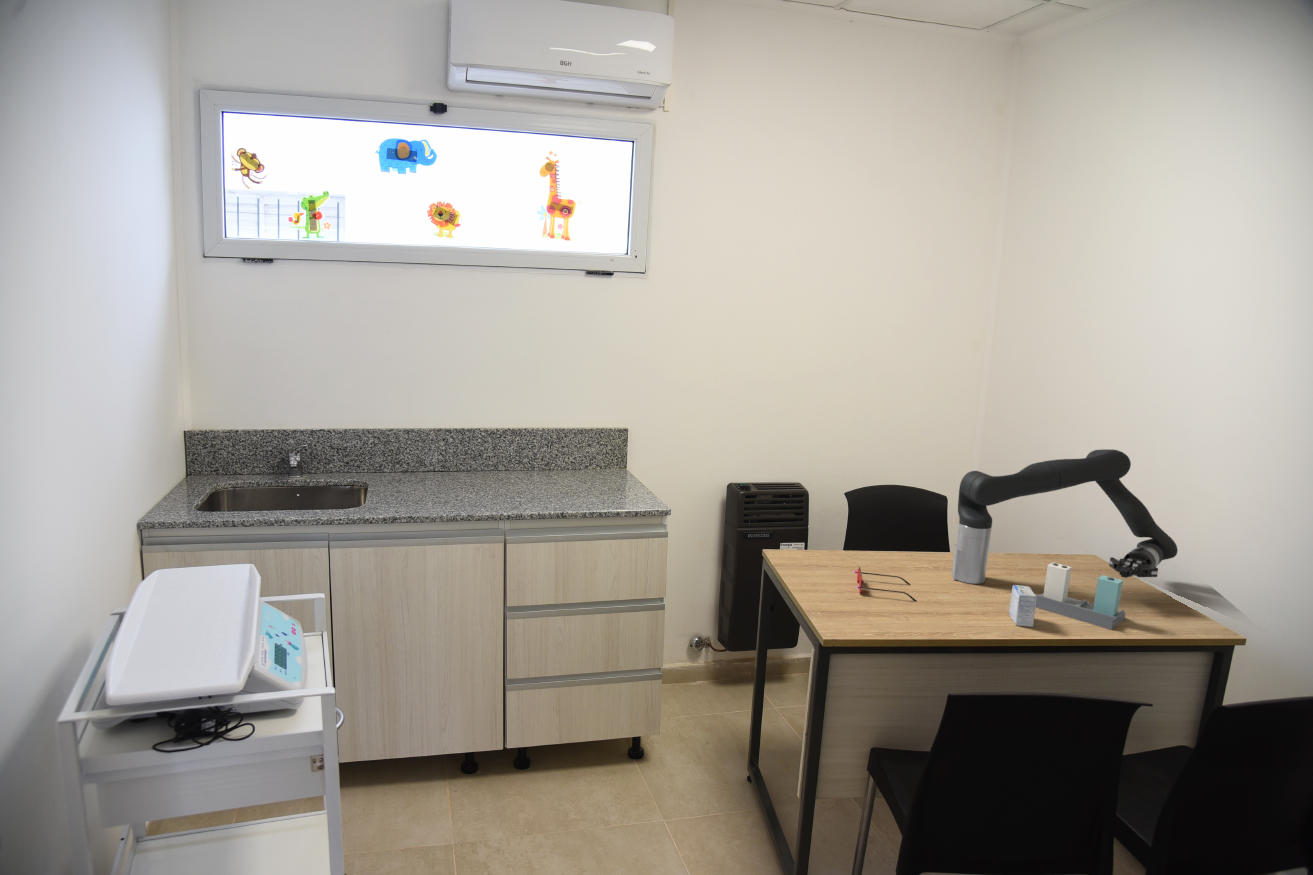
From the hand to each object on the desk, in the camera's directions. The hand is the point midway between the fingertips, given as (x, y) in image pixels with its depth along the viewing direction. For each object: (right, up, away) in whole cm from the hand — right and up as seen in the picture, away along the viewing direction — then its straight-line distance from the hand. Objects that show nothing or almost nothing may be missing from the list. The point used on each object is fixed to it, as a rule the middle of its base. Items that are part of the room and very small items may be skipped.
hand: (1124, 573), depth 223 cm
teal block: (-9, -10, -7) cm, 15 cm away
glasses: (-65, -7, +8) cm, 66 cm away
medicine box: (-34, -11, -10) cm, 37 cm away
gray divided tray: (-14, -10, -2) cm, 17 cm away
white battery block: (-18, -8, +2) cm, 20 cm away
